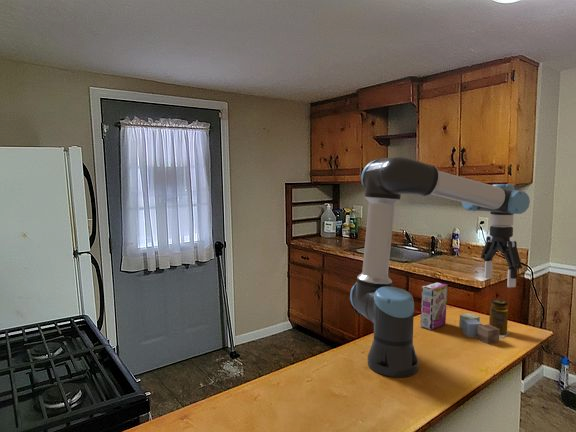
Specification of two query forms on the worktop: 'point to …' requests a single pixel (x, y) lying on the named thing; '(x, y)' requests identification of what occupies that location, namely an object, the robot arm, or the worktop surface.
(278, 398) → the worktop surface
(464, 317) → the sage block
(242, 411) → the worktop surface
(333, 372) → the worktop surface
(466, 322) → the slate block
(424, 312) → the candy bar box
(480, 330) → the walnut block
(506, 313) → the condiment
